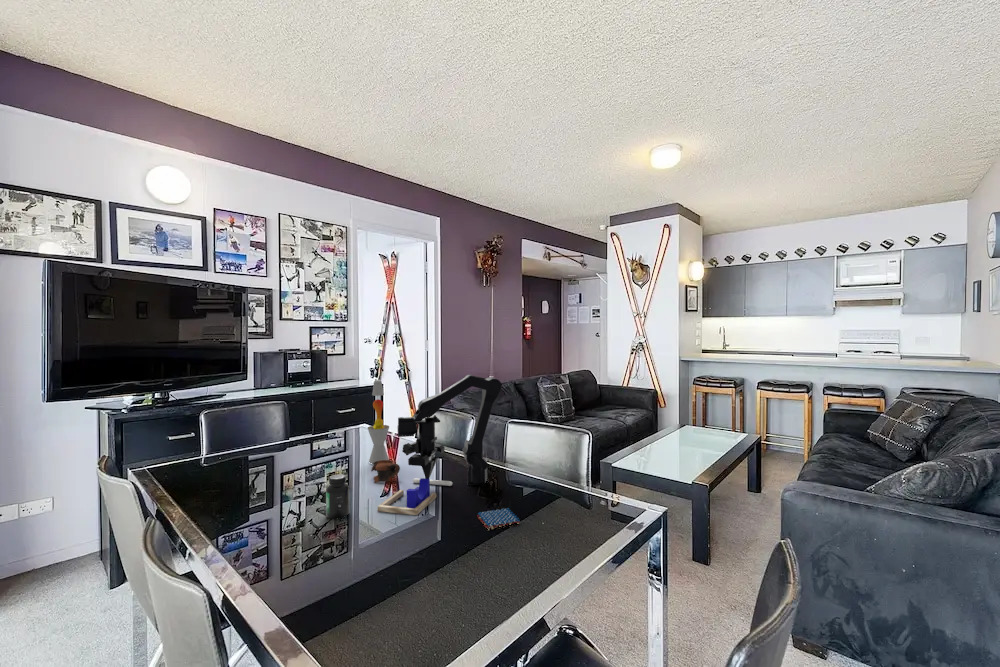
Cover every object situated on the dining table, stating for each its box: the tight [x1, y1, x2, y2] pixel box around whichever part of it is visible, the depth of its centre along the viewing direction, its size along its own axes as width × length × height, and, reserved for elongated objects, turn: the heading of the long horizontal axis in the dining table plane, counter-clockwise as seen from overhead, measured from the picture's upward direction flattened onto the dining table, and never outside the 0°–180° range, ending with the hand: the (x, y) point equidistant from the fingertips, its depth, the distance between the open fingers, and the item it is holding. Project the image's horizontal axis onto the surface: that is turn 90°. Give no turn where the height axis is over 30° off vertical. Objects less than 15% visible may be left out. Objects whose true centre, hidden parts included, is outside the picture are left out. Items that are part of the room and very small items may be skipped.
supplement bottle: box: [325, 473, 351, 520], centre depth 144 cm, size 7×7×12 cm
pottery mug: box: [371, 459, 401, 483], centre depth 179 cm, size 12×10×8 cm
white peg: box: [412, 478, 453, 487], centre depth 172 cm, size 16×2×2 cm, turn 74°
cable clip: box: [406, 477, 431, 509], centre depth 155 cm, size 12×4×6 cm, turn 167°
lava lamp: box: [367, 379, 390, 465], centre depth 201 cm, size 9×9×35 cm
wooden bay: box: [377, 489, 437, 516], centre depth 153 cm, size 13×15×2 cm
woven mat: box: [476, 507, 521, 531], centre depth 139 cm, size 10×11×2 cm
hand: (427, 478), depth 168 cm, fingers closed
